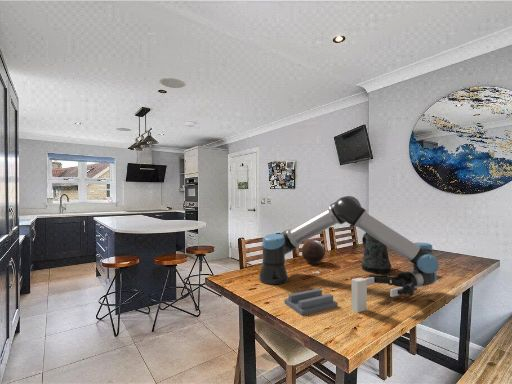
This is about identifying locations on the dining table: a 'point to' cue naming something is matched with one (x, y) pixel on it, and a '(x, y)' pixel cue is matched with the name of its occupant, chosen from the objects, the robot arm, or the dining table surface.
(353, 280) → the white rectangular block
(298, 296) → the rack
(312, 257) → the wooden sphere
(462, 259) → the dining table surface
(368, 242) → the black irregular block
